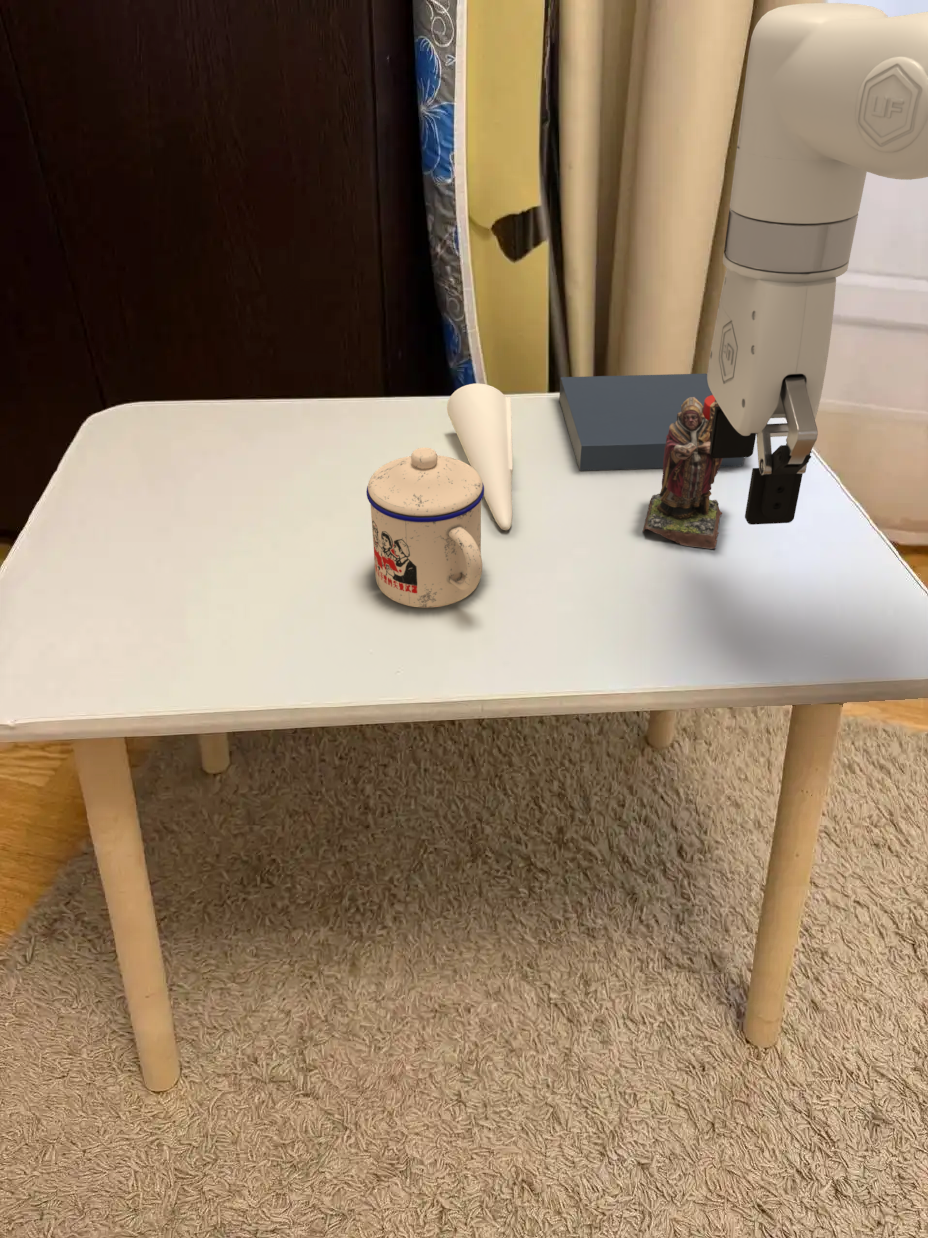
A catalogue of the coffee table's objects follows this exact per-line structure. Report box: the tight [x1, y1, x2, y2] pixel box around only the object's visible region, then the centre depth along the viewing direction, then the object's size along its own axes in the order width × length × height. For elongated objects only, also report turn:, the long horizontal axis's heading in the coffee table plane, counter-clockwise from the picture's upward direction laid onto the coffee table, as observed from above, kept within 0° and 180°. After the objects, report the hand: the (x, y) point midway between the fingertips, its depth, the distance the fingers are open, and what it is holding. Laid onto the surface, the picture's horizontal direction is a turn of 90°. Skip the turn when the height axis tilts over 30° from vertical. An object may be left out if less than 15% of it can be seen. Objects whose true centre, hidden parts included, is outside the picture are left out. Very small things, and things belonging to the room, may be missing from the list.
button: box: [703, 395, 715, 420], centre depth 95 cm, size 4×4×2 cm
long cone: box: [446, 383, 514, 531], centre depth 94 cm, size 6×6×19 cm
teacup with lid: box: [366, 447, 484, 609], centre depth 77 cm, size 12×9×12 cm
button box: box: [558, 373, 745, 472], centre depth 101 cm, size 17×17×4 cm
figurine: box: [642, 397, 723, 550], centre depth 84 cm, size 6×6×12 cm
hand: (748, 487), depth 71 cm, fingers open, 9 cm apart
